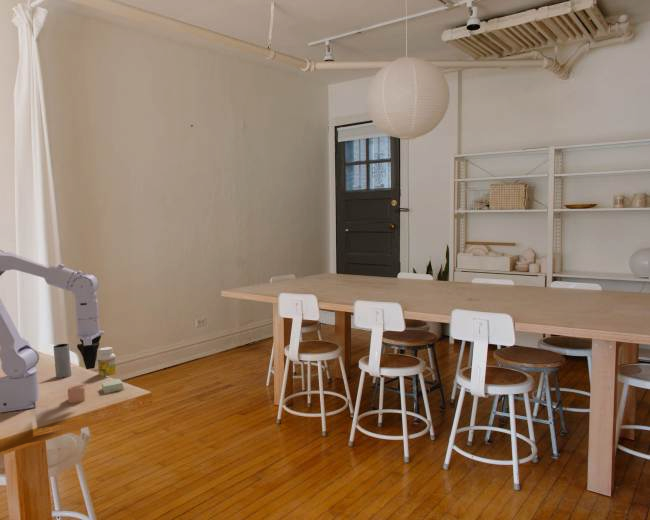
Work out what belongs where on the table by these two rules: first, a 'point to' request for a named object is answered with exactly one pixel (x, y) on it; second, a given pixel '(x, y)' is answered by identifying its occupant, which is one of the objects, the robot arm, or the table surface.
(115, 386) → the top block
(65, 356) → the grey cylinder
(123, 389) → the base block
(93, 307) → the robot arm
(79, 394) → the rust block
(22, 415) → the table surface
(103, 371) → the supplement bottle
